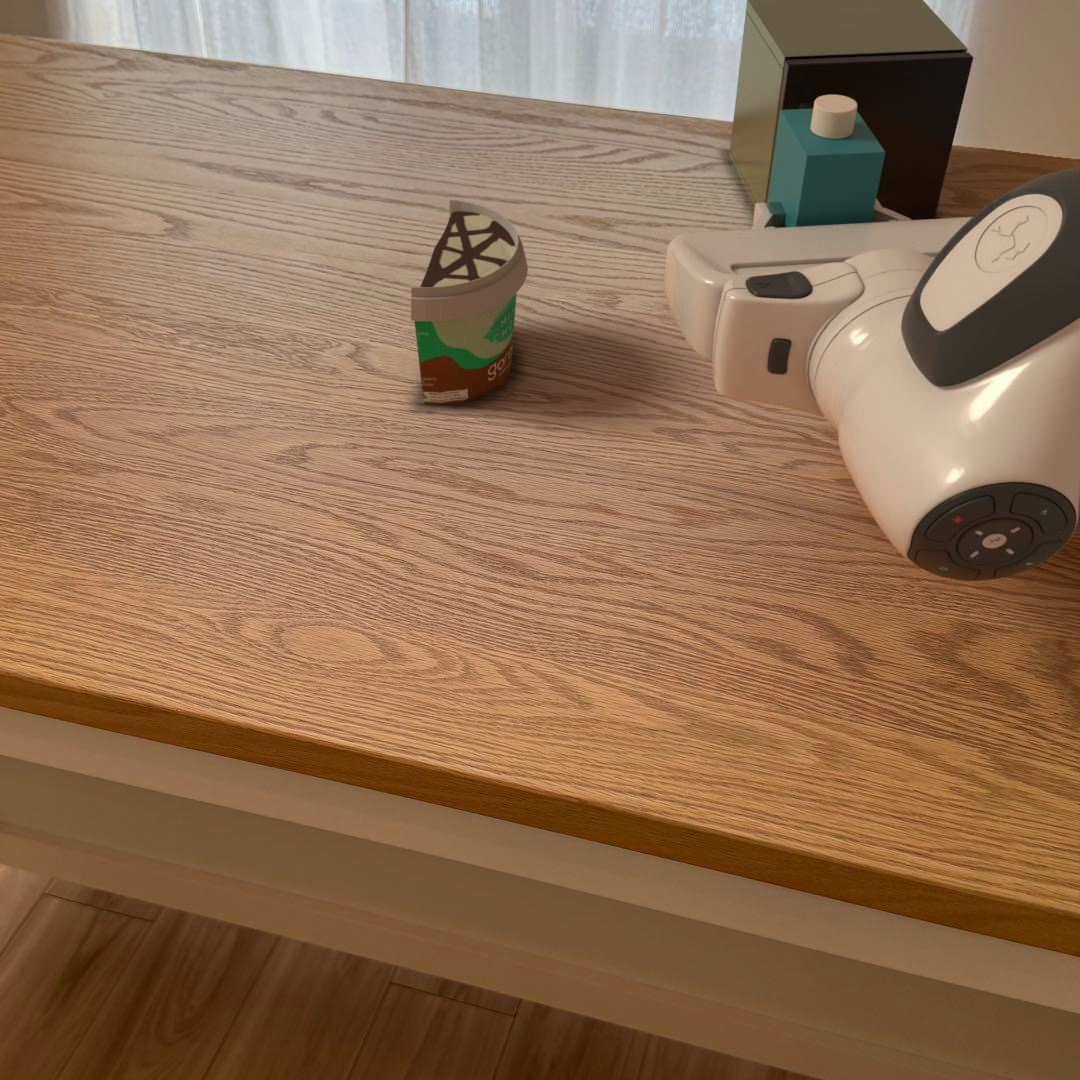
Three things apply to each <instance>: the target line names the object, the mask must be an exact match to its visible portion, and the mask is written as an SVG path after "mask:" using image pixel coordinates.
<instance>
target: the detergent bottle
mask: <svg viewBox="0 0 1080 1080" xmlns="http://www.w3.org/2000/svg"><path fill="white" fill-rule="evenodd" d="M884 157H885V151H884V149H883V148H882V146H881V145H880V143H879V142H878V141H877V139H876V138H875V136H874V135H873V133H872V132H871V130H870V129H869V128H868V126H867V125H866V123H865V122H864V120H863V119H862V117H861V116H860V115H859V113H858V112H857V103H856V101H854V100H853V99H851V98H849V97H846V96H842V95H824V96H820V97H818V98H817V99H816V100H815V102H814V108H813V109H793V110H780V115H779V122H778V129H777V136H776V144H775V151H774V158H773V165H772V172H771V180H770V187H769V194H768V201H767V202H780V203H781V207H783V209H784V211H785V213H786V215H785V222H784V225H783V226H782V227H783V228H784V227H802V226H819V225H837V224H854V223H871V221H872V216H873V211H874V206H875V201H876V196H877V191H878V186H879V181H880V177H881V172H882V167H883V162H884Z"/></svg>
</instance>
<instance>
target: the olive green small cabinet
mask: <svg viewBox="0 0 1080 1080" xmlns="http://www.w3.org/2000/svg"><path fill="white" fill-rule="evenodd" d="M742 33H743V34H742V41H741V42H742V43H741V49H740V50H741V51H740V59H739V60H740V61H739V69H738V78H737V86H736V94H735V103H734V113H733V121H732V128H731V129H732V131H731V137H730V138H731V140H730V148H729V158H730V160H731V162H732V164H733V166H734V168H735V170H736V172H737V175H738V176H739V179H740V180H741V183H742V184H743V187H744V189H745V191H746V192H747V195H748V197H749V199H750V201H751V203H752V205H753V207H754V208H755V205H756V203H762V202H764V203H765V202H766V198H767V190H768V183H769V176H770V169H771V161H772V154H773V147H774V140H775V132H776V125H777V118H778V111H779V103H780V96H781V89H782V82H783V74H784V67H785V61H786V60H796V59H820V58H844V57H868V56H892V55H916V54H940V53H964V52H968V51H969V48H968V47H967V46H966V44H964V43H963V42H962V41H961V40H960V38H959V37H958V36H957V35H956V34H955V33H954V32H953V31H952V30H951V29H950V27H948V25H947V24H946V23H945V22H944V21H943V20H942V19H941V18H940V17H939V16H938V15H937V14H936V13H935V11H934V10H933V9H932V8H931V7H930V6H929V5H928V3H926V2H925V0H746V7H745V14H744V23H743V31H742Z"/></svg>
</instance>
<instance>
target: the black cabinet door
mask: <svg viewBox="0 0 1080 1080" xmlns="http://www.w3.org/2000/svg"><path fill="white" fill-rule="evenodd" d="M973 61H974V56H973V55H972V53H970V52H969V51H967V52H964V53H940V54H916V55H892V56H868V57H844V58H820V59H796V60H786V61H785V67H784V74H783V82H782V89H781V96H780V103H779V111H778V118H777V125H776V132H775V140H774V147H773V154H772V161H771V169H770V176H769V183H768V190H767V198H766V202H767V201H768V194H769V187H770V180H771V172H772V165H773V158H774V151H775V144H776V136H777V129H778V122H779V115H780V110H793V109H813V108H814V102H815V100H816V99H817V98H818V97H820V96H824V95H842V96H846V97H849V98H851V99H853V100H854V101H856V103H857V112H858V113H859V115H860V116H861V117H862V119H863V120H864V122H865V123H866V125H867V126H868V128H869V129H870V130H871V132H872V133H873V135H874V136H875V138H876V139H877V141H878V142H879V143H880V145H881V146H882V148H883V149H884V151H885V157H884V162H883V167H882V172H881V177H880V181H879V186H878V191H877V196H876V198H877V200H878V201H879V203H880V204H881V206H882V207H883V208H887V209H889V210H891V211H894V212H896V213H899V214H901V215H903V216H906V217H908V218H910V219H911V220H925V219H936V216H937V211H938V206H939V203H940V198H941V194H942V190H943V185H944V181H945V179H946V173H947V169H948V166H949V160H950V156H951V152H952V147H953V144H954V139H955V136H956V131H957V127H958V123H959V119H960V116H961V111H962V106H963V102H964V98H965V94H966V89H967V85H968V81H969V78H970V74H971V69H972V65H973Z"/></svg>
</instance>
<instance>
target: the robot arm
mask: <svg viewBox="0 0 1080 1080" xmlns="http://www.w3.org/2000/svg"><path fill="white" fill-rule="evenodd" d="M785 215H786V213H785V211H784V209H783V207H781V203H780V202H765V203H764V202H762V203H756V205H755V207H754V212H753V216H752V217H753V218H752V226H751V227H750V229H749V228H748V229H731V230H716V231H715V230H713V231H696V232H695V231H694V232H683V233H679V234H678V235H676V236H675V237H674V238H673V239H672V240H671V241H670V242H669V244H668V245H667V248H666V256H665V263H664V282H663V283H664V292H665V293H664V295H665V298H666V301H667V304H668V306H669V309H670V311H671V314H672V316H673V319H674V321H675V322H676V325H677V326H678V328H679V330H680V332H681V334H682V336H683V338H684V339H685V340H686V342H687V343H688V345H689V346H690V348H692V350H693V351H694V352H695V353H696V354H698V355H699V356H700V357H702V358H703V359H705V360H707V361H710V362H711V363H712V378H713V379H712V380H713V385H714V388H715V390H716V391H717V393H718V394H720V396H722V397H724V398H727V399H732V400H738V401H747V402H755V403H761V404H769V405H773V406H780V407H784V408H788V409H793V410H798V411H801V412H805V413H808V414H811V415H814V416H818V417H822V418H825V420H826V421H827V423H829V425H830V426H831V427H832V428H833V429H834V430H835V431H837V433H838V434H837V435H838V446H839V451H840V455H841V458H842V460H843V462H844V464H845V467H846V469H847V472H848V473H849V475H850V478H851V479H852V482H853V484H854V485H855V487H856V489H857V491H858V493H859V495H860V497H861V499H862V501H863V502H864V504H865V506H866V508H867V509H868V511H869V512H870V514H871V516H872V518H873V519H874V521H875V522H876V524H877V525H878V527H879V528H880V530H881V531H882V532H883V534H884V536H885V538H887V540H888V541H889V542H890V543H891V544H892V546H893V547H894V548H895V550H896V551H897V552H898V553H899V554H900V555H901V556H902V557H903V558H905V559H906V560H907V561H908V562H909V563H911V564H912V565H914V566H916V567H918V568H919V569H922V570H924V571H926V572H928V573H931V574H933V575H936V576H938V577H942V578H946V579H950V580H954V581H955V580H956V581H963V582H983V581H991V580H999V579H1003V578H1008V577H1011V576H1014V575H1017V574H1020V573H1024V572H1026V571H1028V570H1032V569H1033V568H1035V567H1037V566H1039V565H1041V564H1043V563H1045V562H1047V561H1048V560H1050V559H1051V558H1052V557H1053V556H1055V555H1056V554H1057V553H1058V552H1059V551H1061V550H1062V549H1063V548H1064V547H1065V546H1066V545H1067V543H1068V542H1069V541H1070V539H1071V538H1072V536H1073V534H1074V533H1075V530H1076V528H1077V525H1078V521H1079V515H1080V166H1078V167H1070V168H1065V169H1060V170H1056V171H1053V172H1049V173H1046V174H1043V175H1041V176H1038V177H1035V178H1033V179H1029V180H1028V181H1026V182H1024V183H1021V184H1019V185H1018V186H1016V187H1014V188H1011V189H1010V190H1008V191H1007V192H1005V193H1003V194H1002V195H1000V196H998V197H996V198H995V199H993V200H992V201H990V202H989V203H988V204H987V205H985V206H984V207H983V208H981V209H980V210H979V211H977V213H976V214H975V215H973V216H964V217H963V216H962V217H946V218H944V217H943V218H935V219H925V220H911V219H910V218H908V217H906V216H903V215H901V214H899V213H896V212H894V211H891V210H889V209H887V208H883V207H882V206H881V204H880V203H879V201H878V200H877V198H876V201H875V206H874V211H873V216H872V221H871V223H854V224H837V225H819V226H802V227H784V228H783V227H782V226H783V225H784V222H785Z"/></svg>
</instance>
